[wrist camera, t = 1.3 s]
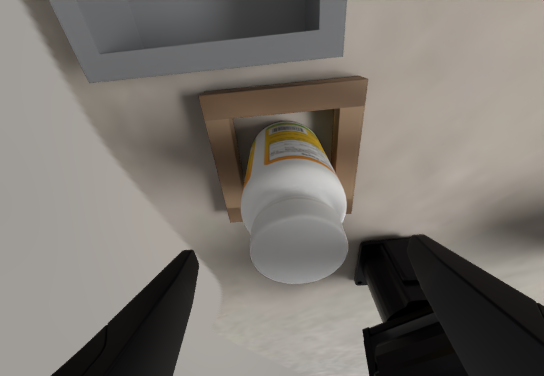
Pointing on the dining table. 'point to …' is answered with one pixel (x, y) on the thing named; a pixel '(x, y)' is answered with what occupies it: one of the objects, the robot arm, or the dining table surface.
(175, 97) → the dining table surface
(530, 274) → the dining table surface
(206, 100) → the socket block
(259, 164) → the supplement bottle
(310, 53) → the bin
